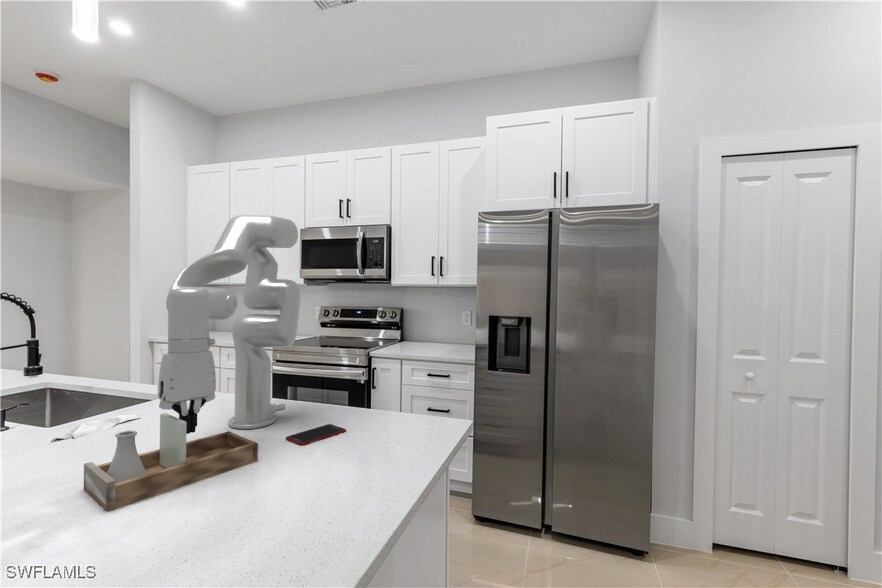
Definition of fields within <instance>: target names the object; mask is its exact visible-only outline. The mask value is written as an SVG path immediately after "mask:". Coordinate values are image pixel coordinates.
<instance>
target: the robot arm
mask: <svg viewBox="0 0 882 588" xmlns="http://www.w3.org/2000/svg"><path fill="white" fill-rule="evenodd" d="M298 237H299V232H298V227H297V225H296V224H295V222H294V221H292V220H291V219H287V218H284V217H278V216H274V215H262V214H261V215H259V214H258V215H256V214H255V215H253V214H244V215H243V214H242V215H241V214H240V215H236V216H235V215H234V216H233V217H232V218H230V220H229V221H228V222H227V224H226V225H225V227H224V230H223V231H222V233H221V235H220V237H219V239H218V241H217V243H216V244H215V247H214V248H213V250H212V251H211V252H209V253H208V254H205V255H204V256H202V257H200V258H198V259H196V260H195V261H194V262H192V263H190V264H189V265H187V266H185V268H183V269H182V270H181V271H180V272H179V274H177V276H176V277H175V280H174V281H173V283H172V285H171V287H170V288H169V291H168V293H167V296H166V302H165V306H166V310H167V312H168V313H167V353H163V354H162V357H161V362H160V367H159V373H158V383H157V399H159V400H160V401H159V405H158V407H159V409H161V410H173V412H175V413H177V414H178V419H181V420H183V421H185V422H187V425H186V435H189V434H191V433H196V427H197V426H198V414H199V413H200V411H201V409H202V407H204V405H205V404H206V403H209V402H212V401H213V400H215V399H216V394H215V393H216V390H217V376H216V366H215V359H214V354H213V352H212V350H210V349H211V346H213V345H215V344H216V339H215V338H211V336H210V321H221V320H226V319H229V318H230V317H232V316H233V315H234V314H235V313H236V310H237V307H238V298H237V297H236V295H235V293H234V292H233V291H232V290H230V289H228V288H225V287H213V286H206V285H207V284H210V283H212V282H214V281H217V280H218V281H219V280H221V279H225V278H229V277H232V276H233V275H236V274H237V275H238V274H240V273H241V272H243V271H244V270H245V269H246V268H247V269H246V277H245V283H244V290H243V299H242V301H243V305H244V306H245V308H247V309H248V310H253V311H261V312H262V311H263V312H264V311H266V312H267V311H269V312H273V311H274V312H279V314H265V313H263V314H262V313H248V314H246V313H245V314H242V315H240V316H239V317H237V318H236V319H235V320H234V321H233V323H232V327H231V334H232V340H233V344H234V345H233V347H234V354H235V360H234V362H235V367H234V368H235V372H234V416H233V417H231V418H229V420H228V426H229V427H230V428H232V429H239V430H240V429H241V430H248V429H249V430H252V429H259V428H263V427H267V426H270V425H272V424H274V423H275V422H276V420H277V419H276V418H277V416H276V415H275V414H276V413H277V412H280V411H284V410H286V404H285V403H280V404H276V403H273V404H272V403H271V394H272V393H271V386H272V385H271V384H272V383H271V381H272V379H271V378H272V374H271V373H272V362H271V358H270V356H269V354H268V352H267V351H266V349H265V348H289V347H291V346H292V345H293V344H294V343H295V340H296V338H297V334H298V333H297V331H298V324H299V314H300V307H301V291H300V290H301V289H300V287H299V284H298V283H297V282H296V281H294V280H292V279H285V278H283V279H279V278H278V272H279V265H278V262H277V260H276V258H275V257H274V256H273V255H272V253H271V252H270V251H269V250H268V249H269V248H270V249H271V248H272V249H291V248H293V247H294V246H295V245H296V243H297V242H298V239H299V238H298ZM187 402H188V403H187Z"/></svg>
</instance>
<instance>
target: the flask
mask: <svg viewBox="0 0 882 588" xmlns="http://www.w3.org/2000/svg"><path fill="white" fill-rule="evenodd" d="M137 434H138V432H137V431H136V430H130V429H129V430H124V431H119V432H117V433H115V434H114V436H115V438H116V440H117V441H116V448H115V453H114V455H113V458H112V460H111V461H110V462H111V465H110V467H109V469H108V471H107V474H108V475H109V476H110V477H112V478H113V479H114V480H116V483H119V482H122V481H126V480H129V479H133V478H136V477H139V476H143V475H146V474H147V473H146V471H145V468H144V466H143V464H142V462H141V460H140V457H139V453H138V449H137V446H136V436H137Z"/></svg>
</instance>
